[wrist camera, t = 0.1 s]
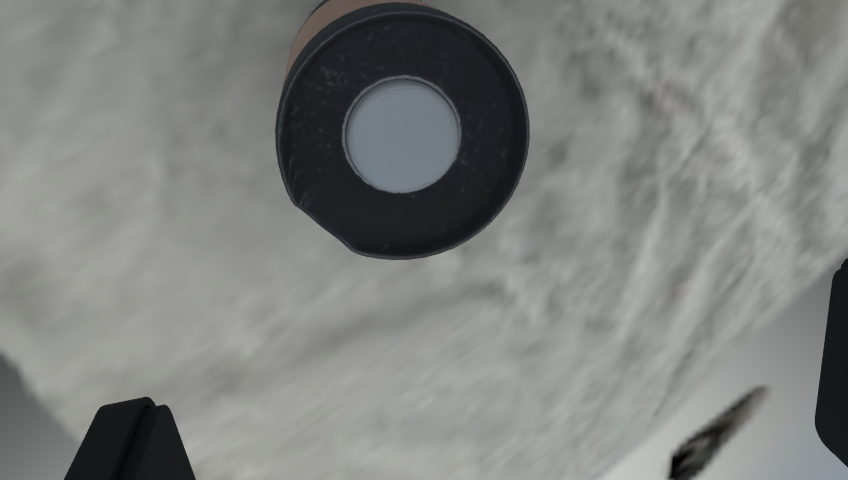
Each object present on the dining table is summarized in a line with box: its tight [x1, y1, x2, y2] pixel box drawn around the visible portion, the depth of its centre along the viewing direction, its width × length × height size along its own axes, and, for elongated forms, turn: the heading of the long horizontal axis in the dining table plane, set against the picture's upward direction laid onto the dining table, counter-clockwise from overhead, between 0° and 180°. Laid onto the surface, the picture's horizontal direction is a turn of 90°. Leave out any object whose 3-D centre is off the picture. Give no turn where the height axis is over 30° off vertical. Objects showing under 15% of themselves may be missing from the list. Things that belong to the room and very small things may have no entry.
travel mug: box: [275, 0, 530, 260], centre depth 28 cm, size 8×8×20 cm
